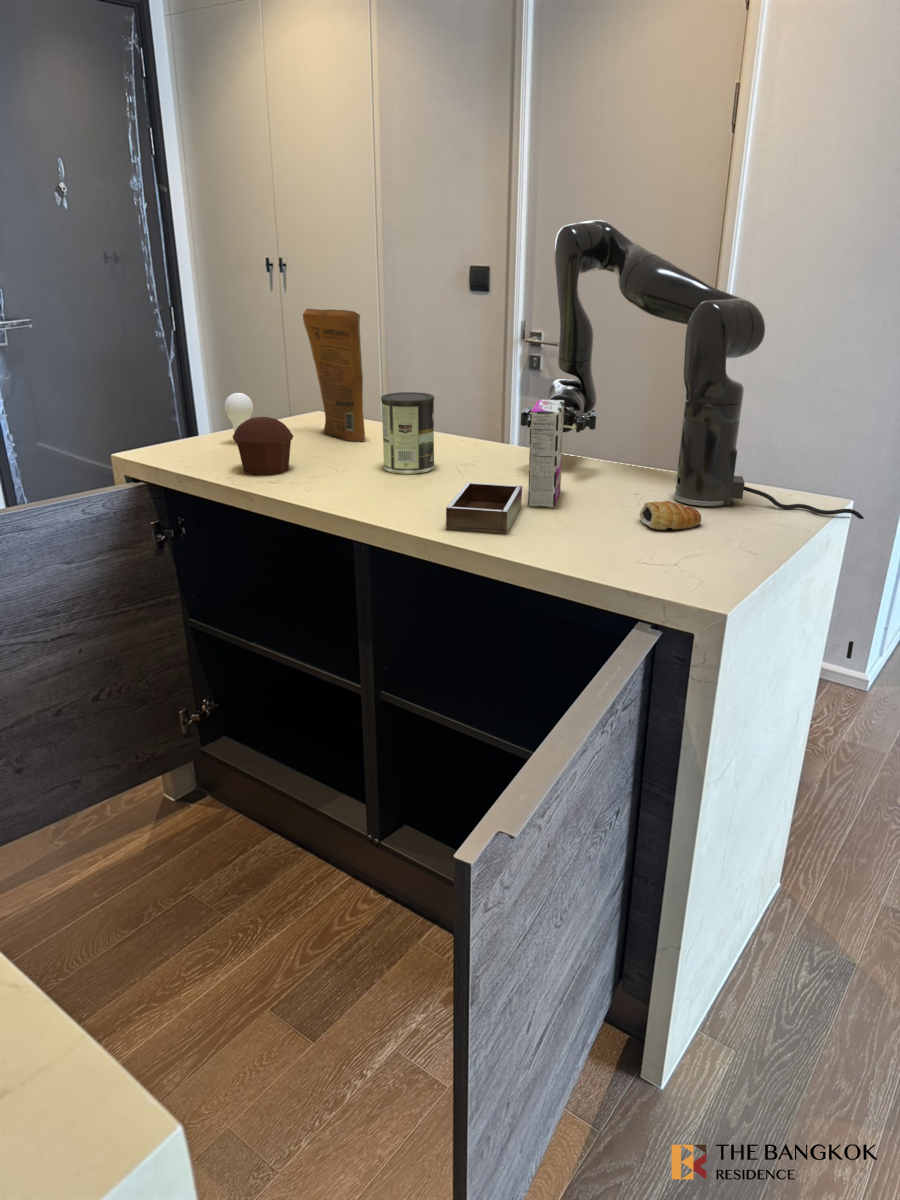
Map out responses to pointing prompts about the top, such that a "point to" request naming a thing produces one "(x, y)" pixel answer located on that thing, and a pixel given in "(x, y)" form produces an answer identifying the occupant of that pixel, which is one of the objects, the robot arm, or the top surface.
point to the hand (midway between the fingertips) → (555, 425)
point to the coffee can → (408, 432)
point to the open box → (484, 508)
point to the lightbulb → (238, 408)
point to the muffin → (263, 445)
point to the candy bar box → (545, 453)
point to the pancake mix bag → (338, 369)
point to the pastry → (669, 515)
